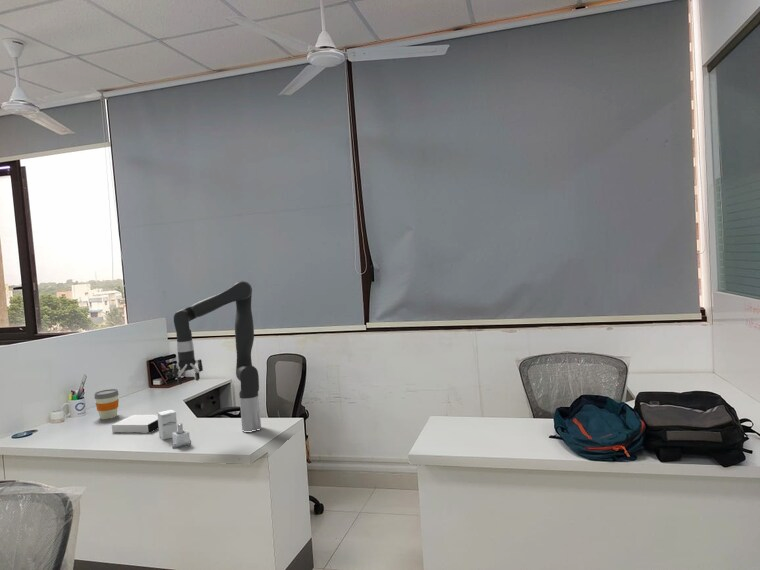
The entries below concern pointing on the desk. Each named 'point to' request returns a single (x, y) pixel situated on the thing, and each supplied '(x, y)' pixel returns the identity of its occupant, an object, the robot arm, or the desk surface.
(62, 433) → the desk surface
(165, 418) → the supplement box
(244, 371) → the robot arm
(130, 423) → the disc drive
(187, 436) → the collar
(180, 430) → the grey peg stand
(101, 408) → the reusable coffee cup
